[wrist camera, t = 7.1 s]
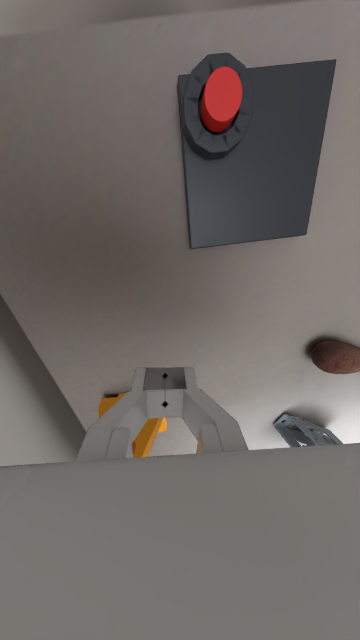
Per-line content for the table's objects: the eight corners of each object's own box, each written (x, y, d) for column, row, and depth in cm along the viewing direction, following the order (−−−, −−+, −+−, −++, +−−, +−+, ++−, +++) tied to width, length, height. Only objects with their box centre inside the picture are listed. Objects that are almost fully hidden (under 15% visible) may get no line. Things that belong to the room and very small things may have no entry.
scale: (190, 248, 22) (193, 249, 20) (177, 85, 17) (179, 55, 14) (300, 235, 23) (318, 234, 20) (326, 69, 17) (356, 37, 14)
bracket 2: (262, 432, 39) (313, 535, 26) (293, 402, 36) (370, 503, 22) (304, 445, 43) (368, 543, 29) (335, 419, 39) (426, 515, 26)
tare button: (201, 134, 16) (205, 123, 15) (199, 85, 15) (203, 67, 13) (234, 130, 16) (241, 119, 15) (235, 82, 15) (243, 63, 13)
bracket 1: (110, 421, 35) (85, 507, 24) (103, 394, 31) (70, 477, 21) (166, 418, 35) (167, 499, 24) (165, 390, 32) (165, 469, 21)
